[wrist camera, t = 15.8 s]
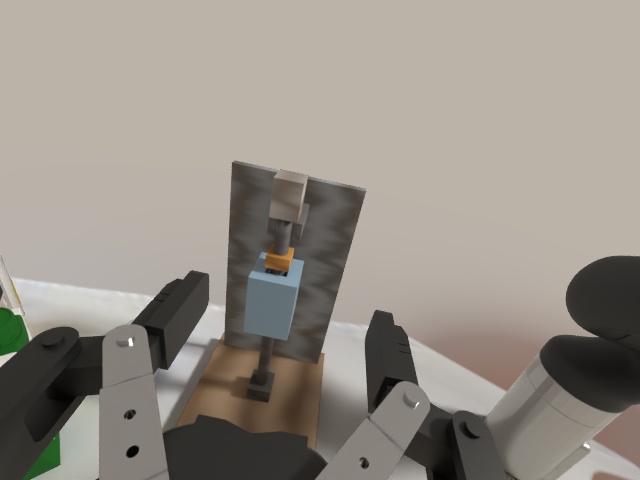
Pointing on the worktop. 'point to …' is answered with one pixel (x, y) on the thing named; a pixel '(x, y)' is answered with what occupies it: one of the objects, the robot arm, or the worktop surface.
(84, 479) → the worktop surface
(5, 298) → the packaging box
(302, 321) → the grey rod stand
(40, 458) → the milk carton
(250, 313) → the sleeve
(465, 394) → the worktop surface
